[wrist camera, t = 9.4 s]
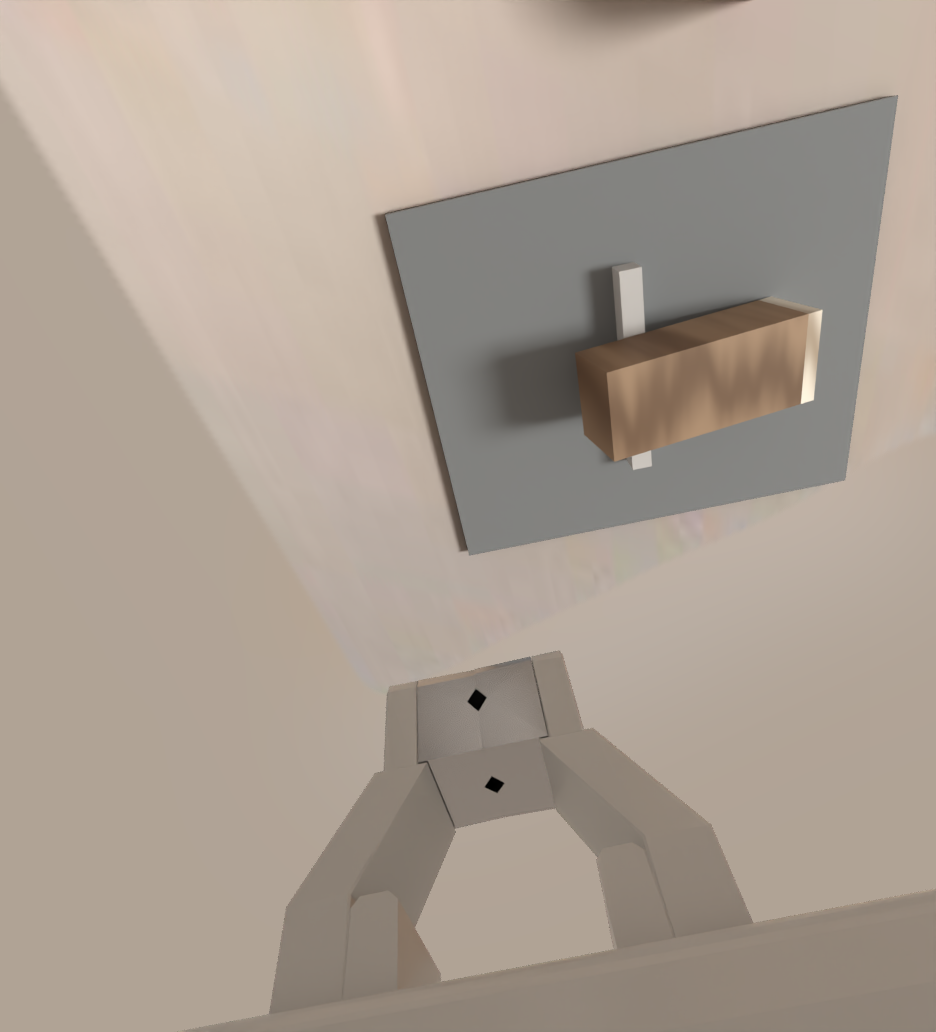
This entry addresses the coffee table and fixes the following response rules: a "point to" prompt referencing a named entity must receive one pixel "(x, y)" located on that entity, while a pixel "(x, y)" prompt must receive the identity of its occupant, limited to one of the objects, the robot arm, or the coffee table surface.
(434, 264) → the slate mat
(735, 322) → the walnut block
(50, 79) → the coffee table surface
